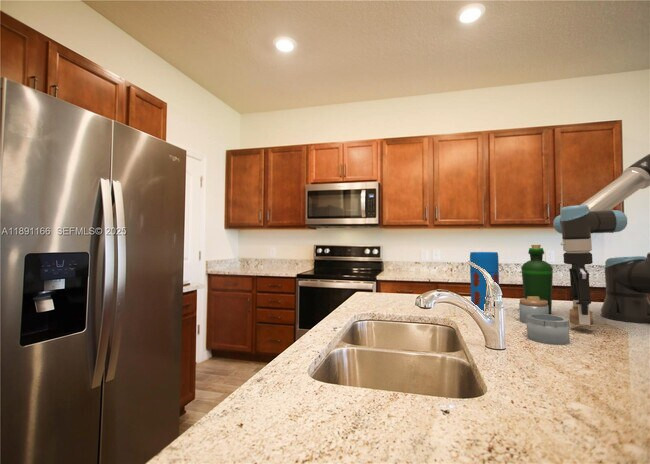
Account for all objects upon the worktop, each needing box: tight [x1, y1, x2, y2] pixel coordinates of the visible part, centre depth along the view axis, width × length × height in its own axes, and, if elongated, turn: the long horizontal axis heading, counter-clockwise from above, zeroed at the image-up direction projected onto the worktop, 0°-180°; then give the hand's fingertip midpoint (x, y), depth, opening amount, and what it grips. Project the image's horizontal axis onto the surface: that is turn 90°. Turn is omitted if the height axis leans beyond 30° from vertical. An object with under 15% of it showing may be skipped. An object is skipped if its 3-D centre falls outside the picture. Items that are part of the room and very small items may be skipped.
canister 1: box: [518, 296, 549, 324], centre depth 117 cm, size 9×9×9 cm
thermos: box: [469, 251, 500, 311], centre depth 135 cm, size 11×11×25 cm
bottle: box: [520, 244, 554, 315], centre depth 129 cm, size 11×11×28 cm
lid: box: [568, 305, 594, 326], centre depth 106 cm, size 6×6×5 cm
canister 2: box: [526, 314, 571, 346], centre depth 97 cm, size 11×11×6 cm
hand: (581, 321), depth 106 cm, fingers closed on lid, 6 cm apart
